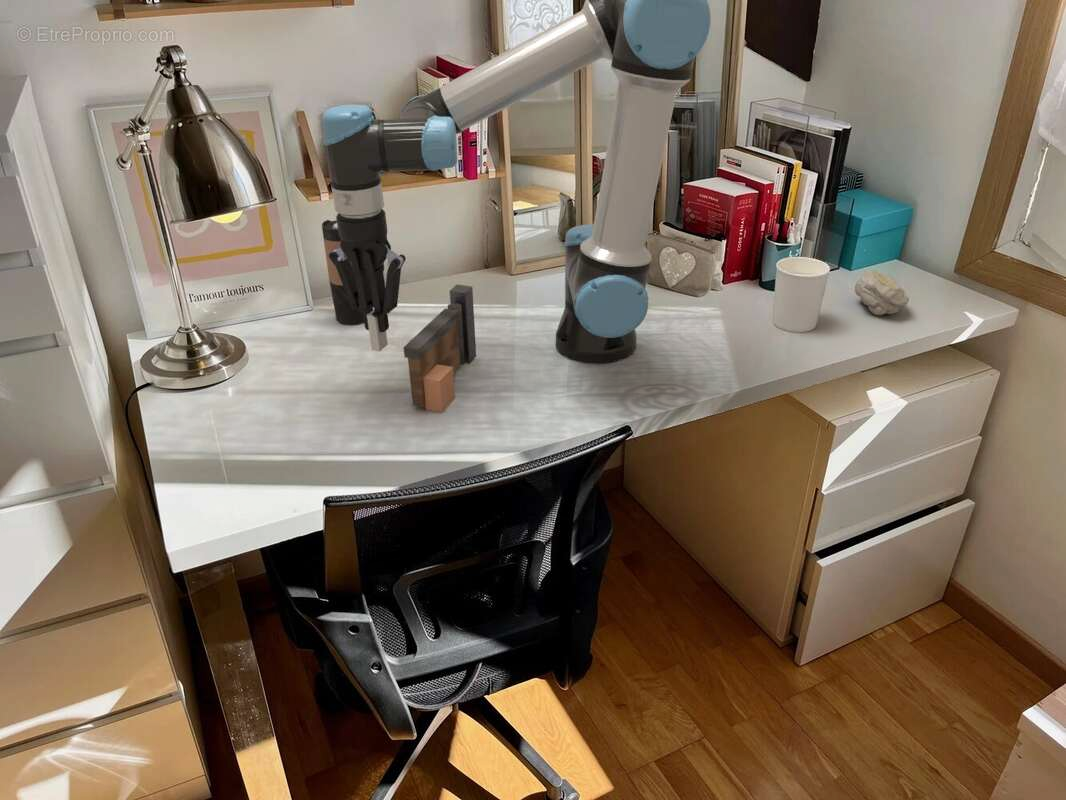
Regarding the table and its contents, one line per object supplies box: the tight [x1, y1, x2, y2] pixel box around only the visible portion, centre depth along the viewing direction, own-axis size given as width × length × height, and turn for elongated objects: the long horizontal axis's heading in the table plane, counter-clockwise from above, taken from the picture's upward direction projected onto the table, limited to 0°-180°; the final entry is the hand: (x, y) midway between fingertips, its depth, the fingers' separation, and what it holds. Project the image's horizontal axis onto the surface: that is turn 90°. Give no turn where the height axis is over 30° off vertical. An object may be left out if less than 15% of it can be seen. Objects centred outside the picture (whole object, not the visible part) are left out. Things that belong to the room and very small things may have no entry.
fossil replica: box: [854, 269, 910, 316], centre depth 171 cm, size 12×8×10 cm
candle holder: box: [772, 256, 831, 333], centre depth 165 cm, size 10×10×12 cm
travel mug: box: [321, 219, 364, 326], centre depth 169 cm, size 8×8×20 cm
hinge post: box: [449, 284, 477, 365], centre depth 154 cm, size 3×3×14 cm
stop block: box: [423, 364, 456, 413], centre depth 142 cm, size 3×5×6 cm, turn 159°
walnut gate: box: [403, 303, 466, 408], centre depth 145 cm, size 18×3×11 cm, turn 160°
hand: (379, 347), depth 144 cm, fingers closed
